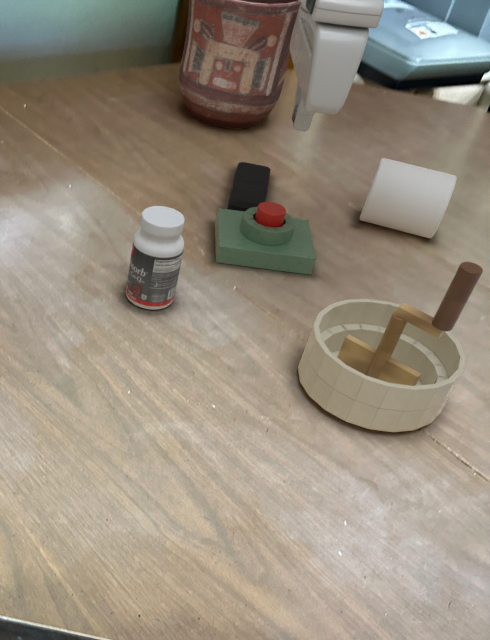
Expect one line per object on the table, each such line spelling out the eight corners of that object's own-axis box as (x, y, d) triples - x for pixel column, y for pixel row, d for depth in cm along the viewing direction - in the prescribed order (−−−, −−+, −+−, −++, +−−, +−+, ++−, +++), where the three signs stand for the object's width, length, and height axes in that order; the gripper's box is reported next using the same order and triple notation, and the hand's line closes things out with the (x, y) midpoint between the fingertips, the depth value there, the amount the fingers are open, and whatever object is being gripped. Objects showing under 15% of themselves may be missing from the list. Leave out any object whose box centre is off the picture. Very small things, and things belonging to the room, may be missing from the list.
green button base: (303, 235, 103) (312, 206, 100) (310, 274, 96) (320, 245, 93) (214, 223, 103) (221, 194, 100) (215, 262, 96) (222, 232, 93)
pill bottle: (117, 287, 91) (128, 205, 83) (161, 281, 92) (175, 200, 85) (137, 314, 87) (150, 231, 80) (181, 308, 89) (198, 226, 82)
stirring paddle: (332, 362, 82) (385, 232, 71) (342, 355, 83) (395, 225, 72) (408, 406, 79) (477, 276, 67) (418, 398, 80) (486, 268, 68)
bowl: (424, 355, 87) (447, 308, 83) (453, 445, 77) (481, 398, 73) (291, 337, 87) (307, 290, 83) (303, 425, 77) (322, 377, 73)
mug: (428, 249, 104) (455, 190, 98) (355, 229, 105) (377, 170, 99) (435, 211, 111) (461, 155, 105) (367, 194, 113) (388, 137, 107)
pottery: (159, 92, 132) (178, -35, 118) (255, 95, 135) (284, -29, 121) (186, 137, 121) (210, 2, 107) (290, 138, 124) (327, 7, 110)
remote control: (235, 172, 115) (225, 214, 105) (238, 160, 114) (229, 201, 103) (268, 178, 115) (261, 221, 104) (271, 166, 113) (265, 208, 103)
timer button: (281, 216, 98) (285, 203, 97) (283, 230, 96) (287, 217, 94) (253, 213, 98) (257, 199, 97) (255, 227, 96) (258, 213, 94)
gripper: (298, -49, 84) (265, 89, 95) (319, 5, 71) (278, 159, 81) (355, -42, 84) (316, 95, 95) (387, 13, 71) (338, 167, 81)
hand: (299, 126), depth 88 cm, fingers closed
